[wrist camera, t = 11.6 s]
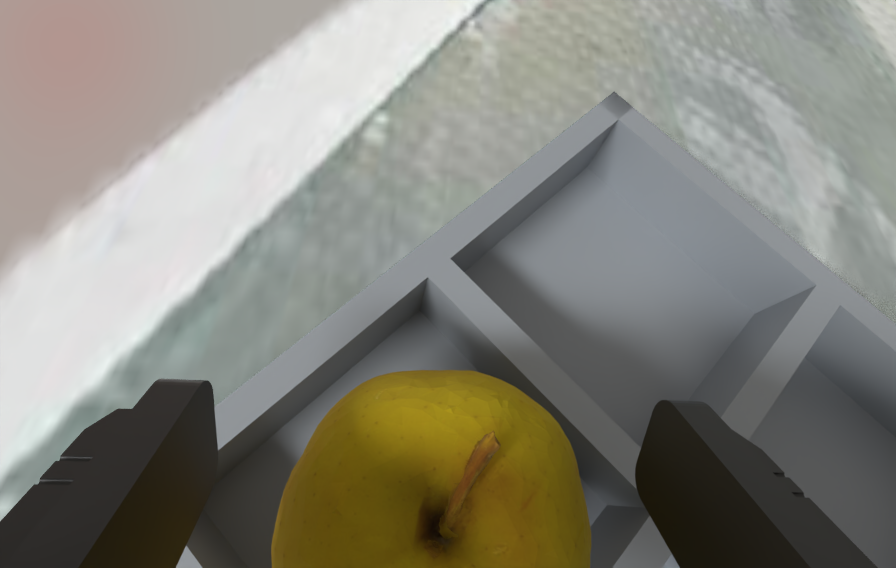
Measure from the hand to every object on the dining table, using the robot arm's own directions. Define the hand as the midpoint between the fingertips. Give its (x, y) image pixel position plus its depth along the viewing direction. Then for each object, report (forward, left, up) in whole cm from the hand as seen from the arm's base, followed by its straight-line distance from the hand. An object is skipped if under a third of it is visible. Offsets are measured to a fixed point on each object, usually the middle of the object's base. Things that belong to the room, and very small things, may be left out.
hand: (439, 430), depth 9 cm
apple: (+1, +1, -7) cm, 7 cm away
